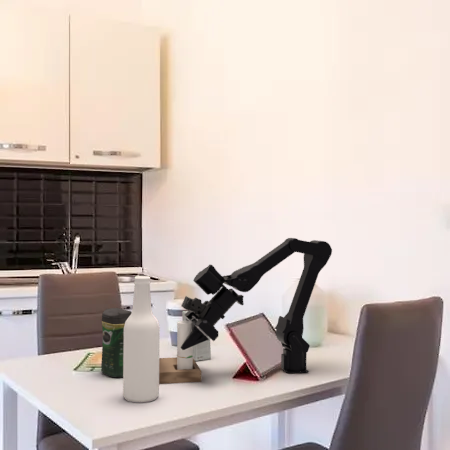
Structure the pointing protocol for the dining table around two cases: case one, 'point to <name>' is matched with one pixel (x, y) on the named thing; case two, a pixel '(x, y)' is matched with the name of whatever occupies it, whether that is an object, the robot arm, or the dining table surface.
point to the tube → (182, 355)
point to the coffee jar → (113, 341)
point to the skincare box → (200, 346)
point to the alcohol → (141, 347)
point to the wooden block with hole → (177, 372)
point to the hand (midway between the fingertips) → (180, 347)
